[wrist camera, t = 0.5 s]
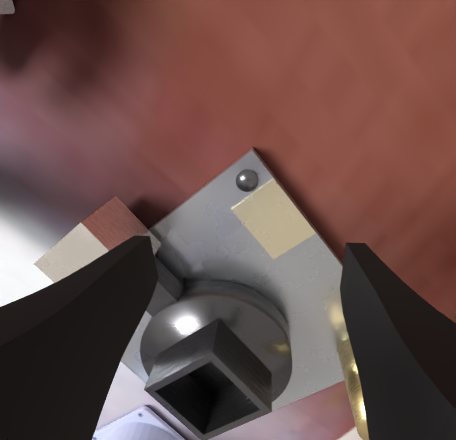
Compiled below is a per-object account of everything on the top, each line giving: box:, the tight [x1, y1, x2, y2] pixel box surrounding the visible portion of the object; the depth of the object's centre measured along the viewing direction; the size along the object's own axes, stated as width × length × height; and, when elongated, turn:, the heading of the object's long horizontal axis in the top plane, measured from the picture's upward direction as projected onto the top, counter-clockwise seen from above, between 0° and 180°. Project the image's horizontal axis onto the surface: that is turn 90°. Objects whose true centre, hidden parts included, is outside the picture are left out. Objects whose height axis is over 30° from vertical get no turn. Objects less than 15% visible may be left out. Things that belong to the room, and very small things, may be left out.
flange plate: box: [121, 147, 349, 411], centre depth 25 cm, size 20×19×1 cm
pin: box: [338, 338, 369, 440], centre depth 22 cm, size 3×3×6 cm
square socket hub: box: [34, 196, 292, 440], centre depth 22 cm, size 11×19×5 cm, turn 39°
